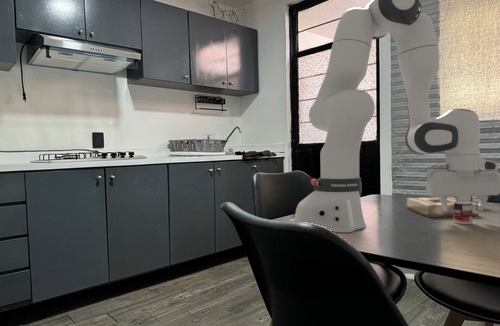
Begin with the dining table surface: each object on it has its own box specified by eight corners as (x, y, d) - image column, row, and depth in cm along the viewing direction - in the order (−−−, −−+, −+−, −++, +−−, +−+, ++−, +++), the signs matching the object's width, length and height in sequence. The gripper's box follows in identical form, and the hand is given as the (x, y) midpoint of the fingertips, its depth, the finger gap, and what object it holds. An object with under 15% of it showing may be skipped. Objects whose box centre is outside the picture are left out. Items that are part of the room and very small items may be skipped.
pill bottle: (450, 221, 105) (450, 193, 105) (466, 220, 105) (466, 193, 104) (459, 224, 100) (459, 195, 100) (475, 224, 100) (475, 195, 100)
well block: (427, 217, 112) (427, 205, 112) (407, 208, 128) (406, 198, 128) (478, 216, 111) (478, 204, 111) (451, 207, 127) (451, 197, 127)
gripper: (431, 166, 99) (432, 214, 100) (505, 163, 99) (505, 212, 99) (421, 164, 106) (422, 210, 106) (490, 162, 105) (490, 208, 105)
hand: (462, 211), depth 103 cm, fingers open, 8 cm apart
